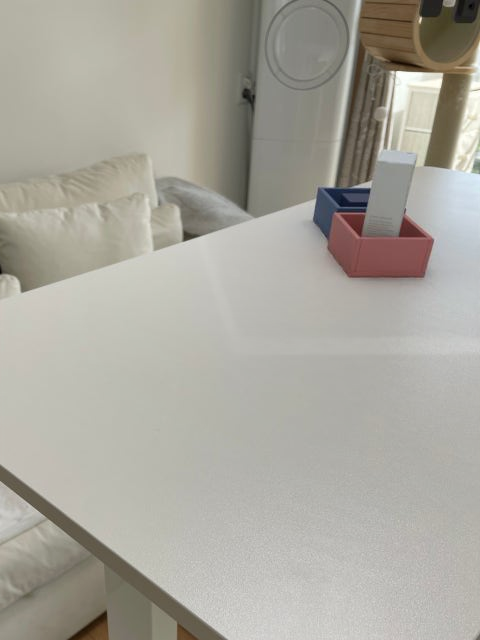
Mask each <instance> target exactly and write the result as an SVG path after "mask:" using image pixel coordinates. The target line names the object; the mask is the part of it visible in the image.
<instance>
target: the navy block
mask: <svg viewBox="0 0 480 640" xmlns="http://www.w3.org/2000/svg"><path fill="white" fill-rule="evenodd" d="M369 196H370V194H353V193H342V194H341V199H340V205H339V206H340V207H367V205H368V201H369Z"/></svg>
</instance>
